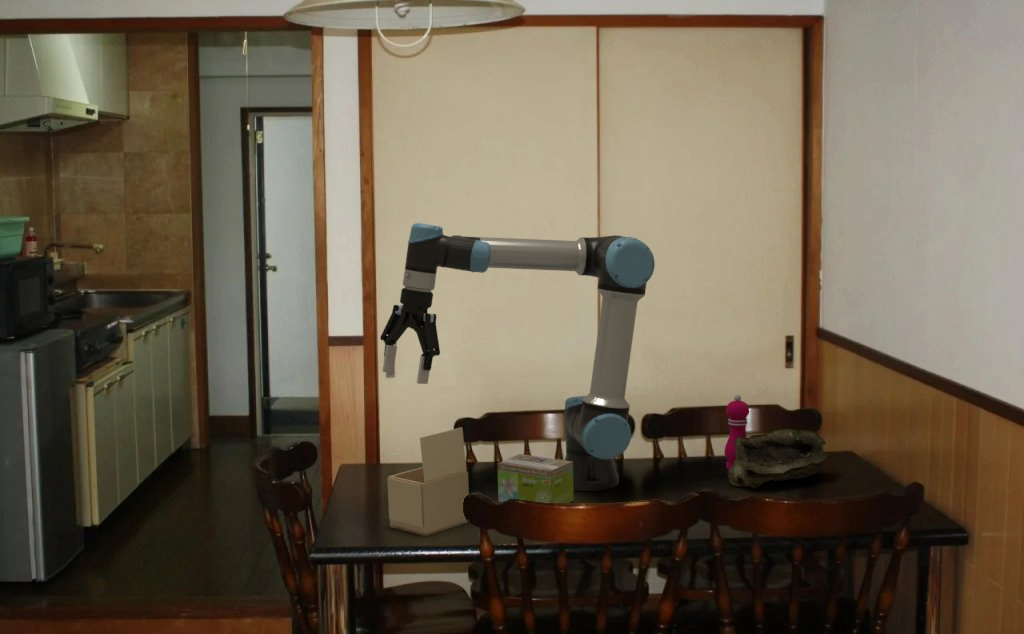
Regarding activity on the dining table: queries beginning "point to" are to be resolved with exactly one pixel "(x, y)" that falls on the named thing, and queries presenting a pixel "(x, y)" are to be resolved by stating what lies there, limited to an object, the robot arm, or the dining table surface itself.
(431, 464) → the flap
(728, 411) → the pepper mill
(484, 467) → the dining table surface
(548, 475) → the tea box
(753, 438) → the hollow geode rock
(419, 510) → the carton
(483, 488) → the dining table surface
